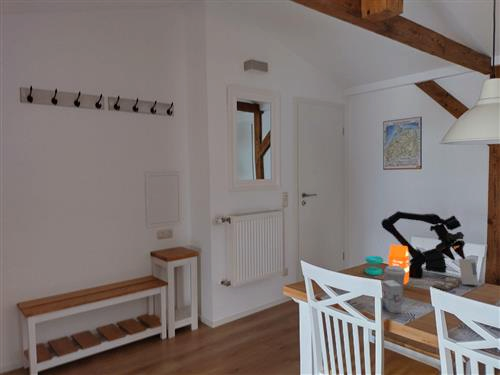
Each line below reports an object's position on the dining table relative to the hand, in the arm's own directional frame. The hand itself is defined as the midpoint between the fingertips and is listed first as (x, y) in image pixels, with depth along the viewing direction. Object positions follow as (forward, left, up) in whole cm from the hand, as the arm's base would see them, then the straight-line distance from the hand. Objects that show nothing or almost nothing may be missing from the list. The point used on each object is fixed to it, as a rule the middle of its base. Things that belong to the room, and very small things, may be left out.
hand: (459, 259), depth 198 cm
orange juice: (-29, -11, -14) cm, 34 cm away
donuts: (-44, -2, -14) cm, 46 cm away
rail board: (-6, -10, -13) cm, 18 cm away
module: (+5, -1, -12) cm, 13 cm away
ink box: (-25, -57, -14) cm, 63 cm away
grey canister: (-26, -43, -14) cm, 52 cm away
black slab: (-14, +23, -14) cm, 30 cm away
